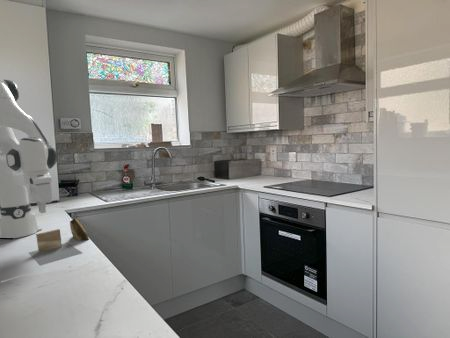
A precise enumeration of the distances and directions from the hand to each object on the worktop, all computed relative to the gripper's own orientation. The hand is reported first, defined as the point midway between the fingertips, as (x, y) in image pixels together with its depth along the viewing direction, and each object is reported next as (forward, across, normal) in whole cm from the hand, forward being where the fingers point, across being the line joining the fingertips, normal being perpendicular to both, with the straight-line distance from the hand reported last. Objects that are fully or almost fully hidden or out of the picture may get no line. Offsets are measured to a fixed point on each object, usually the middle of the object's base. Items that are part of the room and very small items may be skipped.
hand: (42, 212), depth 127 cm
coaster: (+14, +5, 0) cm, 15 cm away
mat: (+14, +12, 0) cm, 19 cm away
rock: (+15, 0, +13) cm, 19 cm away
